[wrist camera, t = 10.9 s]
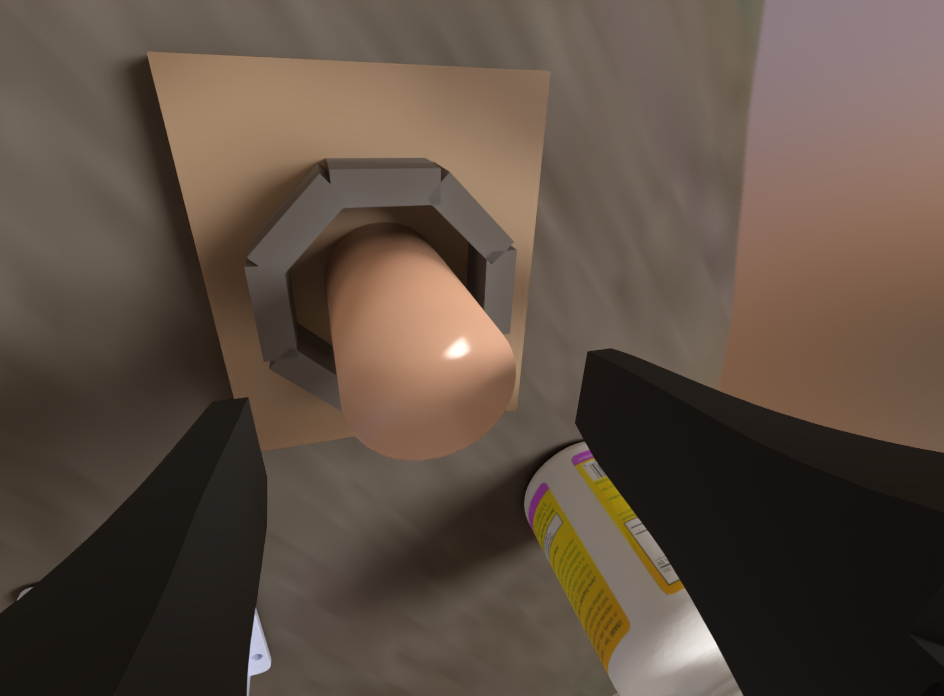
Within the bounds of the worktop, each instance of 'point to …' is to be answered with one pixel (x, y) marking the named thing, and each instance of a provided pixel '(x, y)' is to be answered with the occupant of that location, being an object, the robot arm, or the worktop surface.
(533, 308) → the worktop surface
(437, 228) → the octagonal holder plate
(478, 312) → the peach rounded peg
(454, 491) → the worktop surface
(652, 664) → the supplement bottle
